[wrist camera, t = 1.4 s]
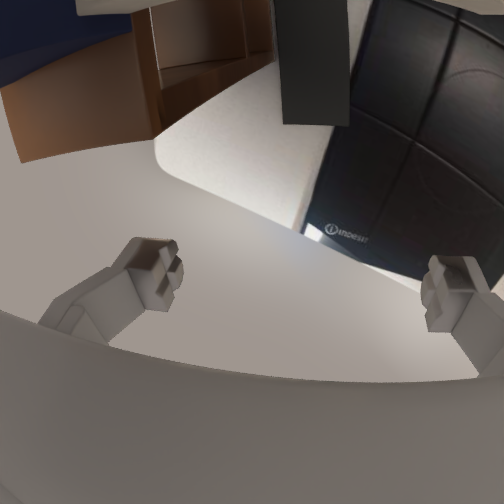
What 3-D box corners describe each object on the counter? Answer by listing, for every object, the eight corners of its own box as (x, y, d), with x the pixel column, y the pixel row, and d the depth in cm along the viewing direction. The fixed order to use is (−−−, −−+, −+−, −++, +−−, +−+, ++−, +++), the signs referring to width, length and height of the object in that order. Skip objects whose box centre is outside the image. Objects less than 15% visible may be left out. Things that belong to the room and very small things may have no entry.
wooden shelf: (208, -18, 22) (-11, -59, 2) (267, -26, 21) (124, -150, 1) (218, 65, 28) (20, 164, 9) (274, 61, 27) (153, 140, 7)
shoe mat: (269, -49, 19) (268, -51, 18) (341, -49, 17) (341, -51, 17) (283, 123, 31) (283, 124, 31) (348, 125, 30) (349, 126, 29)
